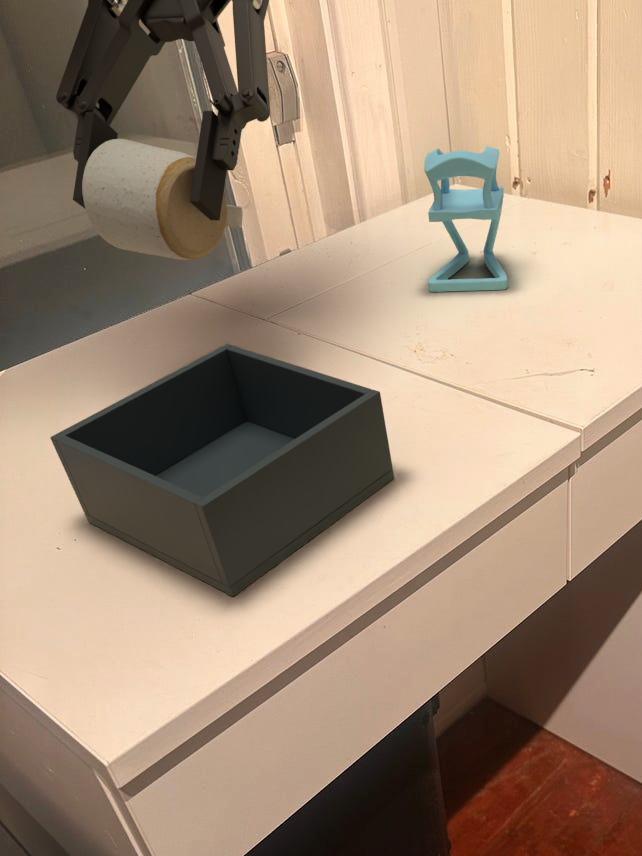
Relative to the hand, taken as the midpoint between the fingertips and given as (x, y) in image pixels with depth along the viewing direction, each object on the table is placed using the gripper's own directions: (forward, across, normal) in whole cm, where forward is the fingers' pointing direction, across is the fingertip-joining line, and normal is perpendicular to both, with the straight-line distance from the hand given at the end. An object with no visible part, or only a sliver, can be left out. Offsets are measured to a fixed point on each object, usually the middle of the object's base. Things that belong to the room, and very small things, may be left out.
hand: (146, 209), depth 67 cm
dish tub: (+20, -11, -1) cm, 23 cm away
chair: (-8, -16, -30) cm, 35 cm away
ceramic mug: (+1, 0, -5) cm, 5 cm away
